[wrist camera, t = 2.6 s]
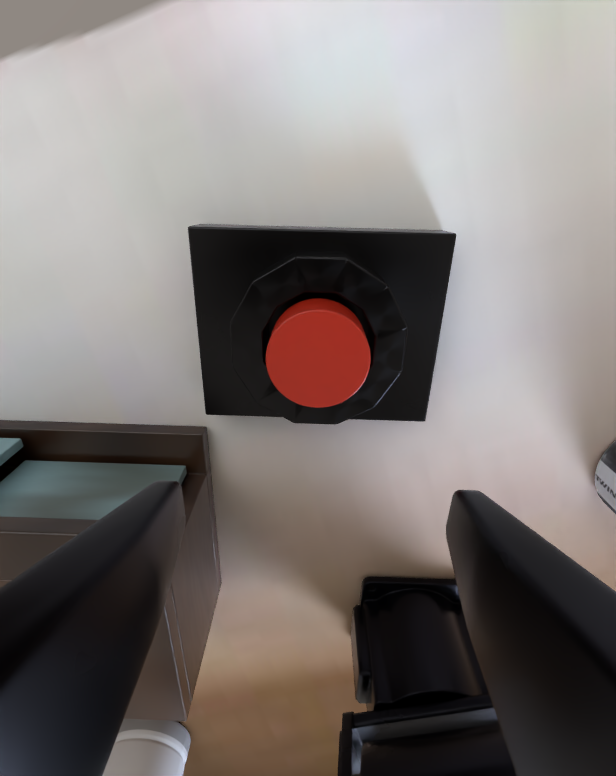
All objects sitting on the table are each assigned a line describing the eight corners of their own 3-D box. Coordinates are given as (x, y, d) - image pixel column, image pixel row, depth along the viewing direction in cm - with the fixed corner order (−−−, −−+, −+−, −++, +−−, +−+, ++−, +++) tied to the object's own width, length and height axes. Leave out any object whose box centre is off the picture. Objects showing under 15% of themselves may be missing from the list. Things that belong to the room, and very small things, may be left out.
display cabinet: (206, 426, 21) (151, 537, 14) (221, 582, 25) (186, 722, 19) (-142, 414, 21) (-363, 519, 14) (-61, 572, 26) (-198, 706, 19)
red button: (369, 299, 15) (375, 311, 13) (361, 389, 16) (366, 409, 15) (270, 296, 15) (264, 308, 13) (271, 386, 16) (266, 406, 15)
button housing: (444, 230, 16) (474, 237, 13) (417, 404, 20) (435, 443, 17) (199, 223, 17) (171, 229, 13) (214, 398, 20) (194, 436, 17)
